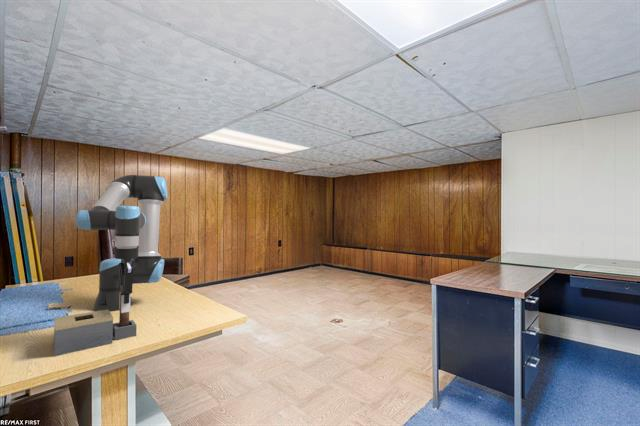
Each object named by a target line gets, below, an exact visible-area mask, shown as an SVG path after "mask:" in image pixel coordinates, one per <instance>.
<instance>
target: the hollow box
mask: <svg viewBox="0 0 640 426" xmlns="http://www.w3.org/2000/svg"><path fill="white" fill-rule="evenodd" d="M113 323H114V316H113V314H112V313H111V311H109V310H108V309H107V310H101V311H96V310H94V311H90V312H83V313H76V314H72V315H70V314H69V315H65V316H59V317H54V326H53V327H54V329H53V330H54V331H53V333H54V334H53V349H54V350H53V351H54V357H58V356H63V355H66V354H71V353H74V352H80V351H83V350H89V349H93V348H97V347H102V346H107V345H112V344H113V340H114V338H113Z"/></svg>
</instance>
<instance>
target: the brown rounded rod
mask: <svg viewBox="0 0 640 426" xmlns="http://www.w3.org/2000/svg"><path fill="white" fill-rule="evenodd" d="M121 293H123V285H121V289H120V294H121ZM121 298H122V295H120V310H119V321H118V323H119V327H124V326H129V320H130V312H124V313H121Z"/></svg>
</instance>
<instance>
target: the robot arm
mask: <svg viewBox="0 0 640 426" xmlns="http://www.w3.org/2000/svg"><path fill="white" fill-rule="evenodd" d="M129 198H130V199H131V198H132V199H137V202H138V203H139V204H140V207H139V206H138V205H137V206H136V205H121V204H122V202H123V201H125V200H126V199H129ZM168 198H169V197H168V186H167V182H166V179H165V178H164V177H162V176H155V175H142V174H141V175H138V174H126V175H122V176H119V177H118V178H115V179H113V180H112V181H111V182H109V183H108V184H107V186H106V189H105V192H104V193H103V194H102V196H101V197H99V199H98V200H97V202H95V204H94V205H93V206H92V207H91V208H90V209H81V210H78V212H77V213H76V216H75V223H76V224H75V225H76V227H77V228H78V229H79V230H86V231H88V230H89V231H92V230H93V231H94V230H95V231H96V230H97V231H101V230H102V231H103V230H104V231H106V230H109V231H110V230H112V231H113V230H115V231H114V238H113V239H112V242H114V247H115V248H114V251H113V252H114V254H113V255H114V256H113V258H108V259H104V260H102V261H101V262H100V263H99V264H100V265H99V269H98V272H99V281H98V282H99V284H98V293H97V296H96V298H95V301H94V304H93V310H94V311H101V310H107V309H108V310H109V311H110V312H113V311H120V295H122V298H121V313H124V312H129V313H130V312H131V306H132V305H133V298H132V294H133V285H134V284H136V285H137V284H155V283H158V282H160V281H161V279H162V276H163V273H164V267H165V259H164V258H162V255H161V253H159V243H160V242H159V241H160V240H159V239H160V237H159V236H160V220H161V206H162V205H163V204H164V203H165V200H167V199H168ZM121 285H123V293H121V294H120V289H121Z"/></svg>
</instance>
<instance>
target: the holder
mask: <svg viewBox="0 0 640 426" xmlns="http://www.w3.org/2000/svg"><path fill="white" fill-rule="evenodd" d="M136 336H137V323H136V322H135V321H134V320H133V319H129V326H124V327H119V322H113V340H114V341H118V340H122V339H128V338H131V337H136Z"/></svg>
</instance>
